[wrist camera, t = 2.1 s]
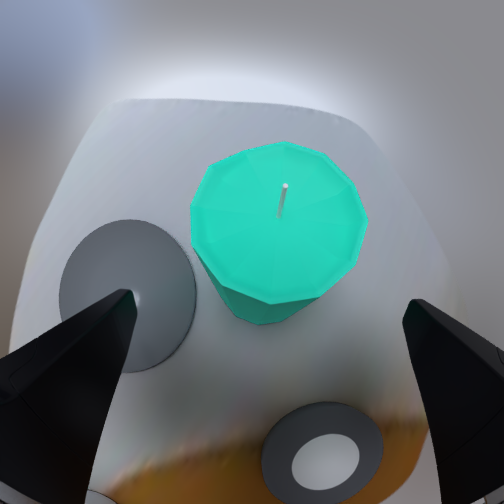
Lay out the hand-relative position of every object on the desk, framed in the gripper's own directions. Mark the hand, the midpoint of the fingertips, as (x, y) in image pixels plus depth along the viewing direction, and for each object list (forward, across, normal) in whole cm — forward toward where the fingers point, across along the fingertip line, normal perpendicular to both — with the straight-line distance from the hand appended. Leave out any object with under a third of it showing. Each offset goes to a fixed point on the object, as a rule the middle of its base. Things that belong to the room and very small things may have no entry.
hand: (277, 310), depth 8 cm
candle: (+10, 0, +5) cm, 11 cm away
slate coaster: (+8, +10, +6) cm, 14 cm away
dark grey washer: (+1, -4, +14) cm, 14 cm away
